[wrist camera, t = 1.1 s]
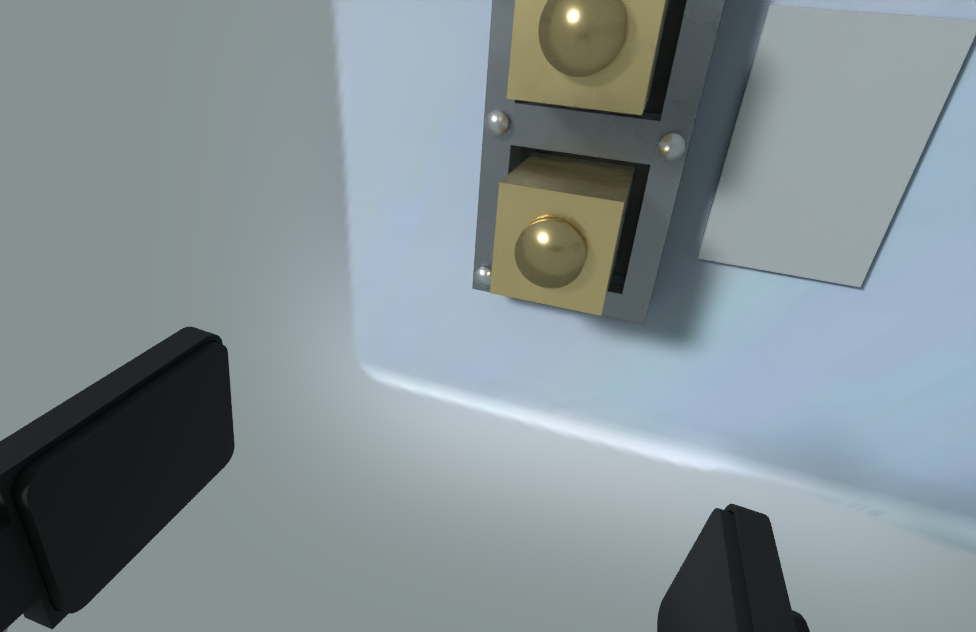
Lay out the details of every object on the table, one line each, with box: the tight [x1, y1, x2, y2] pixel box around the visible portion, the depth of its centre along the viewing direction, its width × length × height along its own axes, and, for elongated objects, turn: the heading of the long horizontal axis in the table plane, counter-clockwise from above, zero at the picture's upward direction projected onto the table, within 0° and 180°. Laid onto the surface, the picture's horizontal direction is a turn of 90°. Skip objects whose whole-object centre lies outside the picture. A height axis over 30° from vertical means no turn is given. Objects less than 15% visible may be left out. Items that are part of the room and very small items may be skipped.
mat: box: [697, 5, 976, 287], centre depth 26 cm, size 8×12×1 cm, turn 176°
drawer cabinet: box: [472, 0, 725, 324], centre depth 27 cm, size 10×19×3 cm, turn 176°
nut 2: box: [490, 152, 635, 316], centre depth 28 cm, size 6×6×8 cm
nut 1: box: [507, 0, 670, 115], centre depth 23 cm, size 6×6×8 cm
